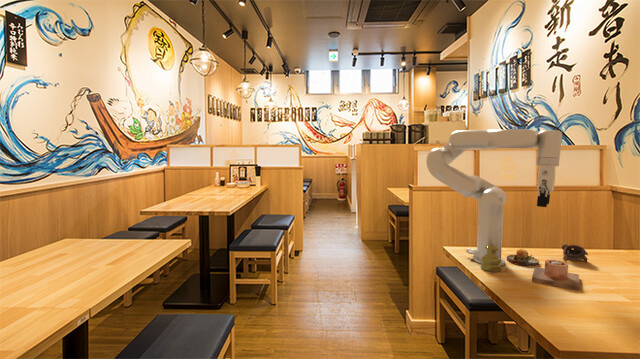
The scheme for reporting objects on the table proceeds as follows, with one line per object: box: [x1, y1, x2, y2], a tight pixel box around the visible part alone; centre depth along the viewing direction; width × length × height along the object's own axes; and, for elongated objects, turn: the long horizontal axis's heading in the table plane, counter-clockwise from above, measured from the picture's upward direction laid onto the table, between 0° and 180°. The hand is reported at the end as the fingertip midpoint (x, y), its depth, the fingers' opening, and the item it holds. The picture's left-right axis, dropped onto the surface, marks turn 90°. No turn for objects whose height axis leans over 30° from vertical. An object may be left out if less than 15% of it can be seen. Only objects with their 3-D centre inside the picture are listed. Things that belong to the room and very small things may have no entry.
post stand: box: [531, 262, 581, 292], centre depth 125 cm, size 14×14×6 cm
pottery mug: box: [561, 243, 589, 263], centre depth 147 cm, size 12×10×8 cm
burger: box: [506, 248, 540, 267], centre depth 145 cm, size 12×12×8 cm
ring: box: [544, 259, 569, 280], centre depth 125 cm, size 7×7×5 cm
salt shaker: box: [480, 244, 502, 273], centre depth 136 cm, size 7×7×10 cm
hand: (542, 205), depth 133 cm, fingers open, 9 cm apart
